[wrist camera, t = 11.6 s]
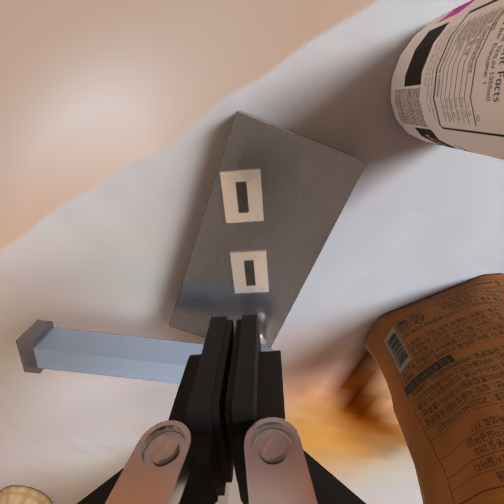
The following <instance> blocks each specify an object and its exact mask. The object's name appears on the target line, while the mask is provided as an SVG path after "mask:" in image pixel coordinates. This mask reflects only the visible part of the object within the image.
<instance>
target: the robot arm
mask: <svg viewBox="0 0 504 504" xmlns="http://www.w3.org/2000/svg"><path fill="white" fill-rule="evenodd" d="M77 504H366V503H364V502H363V501H362V500H361V499H360V498H359V497H357V496H356V495H355V494H354V493H353V492H352V491H350V490H349V489H348V488H347V487H346V486H345V485H343V484H342V483H341V482H340V481H339V480H338V479H336V478H335V477H334V476H333V475H332V474H331V473H329V472H328V471H327V470H326V469H325V468H324V467H323V466H321V465H320V464H319V463H318V462H317V461H316V460H314V459H313V458H312V457H311V456H310V455H309V454H307V453H306V452H305V451H304V450H303V447H302V444H301V440H300V437H299V435H298V432H297V430H296V429H295V428H294V427H293V425H292V424H291V423H289V422H287V421H286V420H285V411H284V395H283V381H282V366H281V352H280V351H261V342H260V332H259V322H258V315H257V314H255V315H243V316H242V319H237V321H236V329H235V330H234V323H233V320H228V318H227V316H218V317H211V320H210V324H209V328H208V331H207V335H206V339H205V342H204V346H203V350H202V354H196V355H190V356H189V358H188V361H187V364H186V367H185V370H184V373H183V376H182V379H181V383H180V386H179V389H178V392H177V395H176V398H175V401H174V404H173V408H172V411H171V414H170V417H169V420H168V421H164V422H160V423H158V424H156V425H154V426H153V427H151V428H150V429H149V430H148V431H146V432H145V433H144V434H143V436H142V437H141V439H140V440H139V441H138V443H137V445H136V447H135V449H134V451H133V452H132V454H131V456H130V458H129V460H128V462H127V463H126V465H125V467H124V468H123V469H122V470H121V471H119V472H118V473H117V474H115V475H114V476H113V477H111V478H110V479H109V480H107V481H106V482H105V483H104V484H102V485H101V486H100V487H98V488H97V489H96V490H94V491H93V492H92V493H90V494H89V495H88V496H87V497H85V498H84V499H83V500H81V501H80V502H79V503H77Z"/></svg>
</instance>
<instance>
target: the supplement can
mask: <svg viewBox="0 0 504 504" xmlns="http://www.w3.org/2000/svg"><path fill="white" fill-rule="evenodd" d="M390 101H391V104H392V108H393V111H394V114H395V118H396V120H397V121H398V122H399V124H400V125H401V126H402V127H403V128H404V130H405V131H406V132H407V133H408V134H410V135H412V136H414V137H416V138H418V139H420V140H422V141H425V142H430V143H434V144H438V145H443V146H447V147H451V148H456V149H460V150H464V151H469V152H473V153H478V154H482V155H486V156H491V157H495V158H499V159H504V0H471V1H469V2H468V3H466V4H464V5H462V6H460V7H458V8H456V9H454V10H452V11H450V12H448V13H446V14H444V15H442V16H440V17H438V18H436V19H435V20H433V21H432V22H431V23H430V24H428V25H427V26H426V27H424V28H423V29H422V30H421V31H419V32H418V33H417V34H415V36H414V37H413V39H412V40H411V41H410V43H409V44H408V45H407V47H406V48H405V50H404V51H403V52H402V54H401V55H400V57H399V60H398V63H397V65H396V68H395V71H394V74H393V76H392V81H391V99H390Z"/></svg>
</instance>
